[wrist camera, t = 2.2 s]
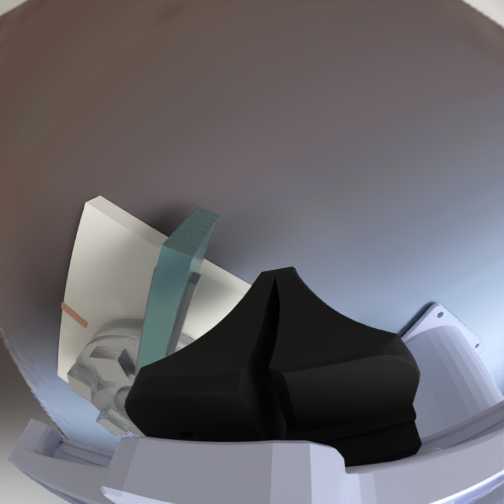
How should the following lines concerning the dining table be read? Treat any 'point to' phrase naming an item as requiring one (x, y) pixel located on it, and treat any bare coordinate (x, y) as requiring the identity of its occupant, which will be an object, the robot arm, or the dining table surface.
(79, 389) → the teal elongated tool
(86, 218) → the base plate
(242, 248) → the dining table surface
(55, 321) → the dining table surface
